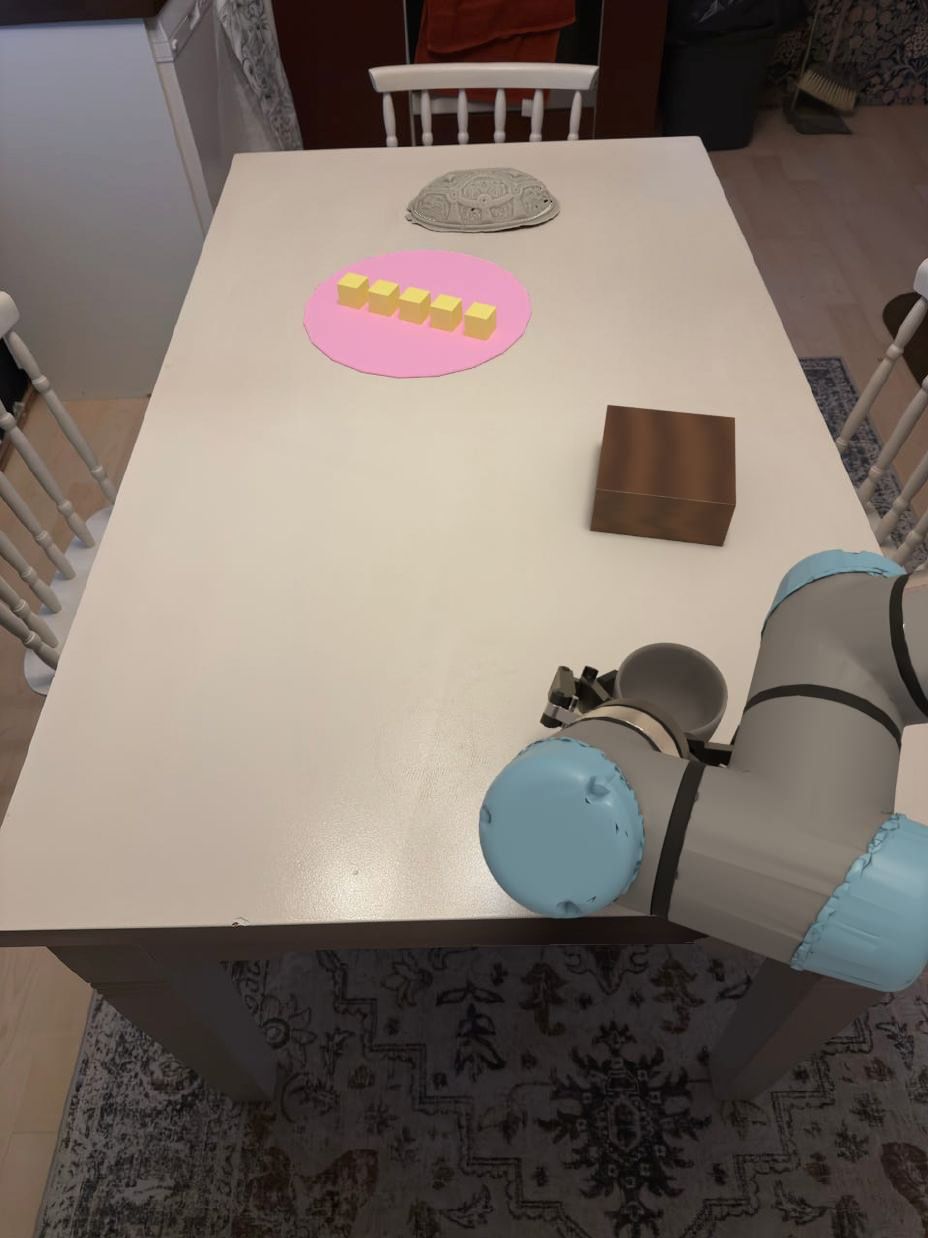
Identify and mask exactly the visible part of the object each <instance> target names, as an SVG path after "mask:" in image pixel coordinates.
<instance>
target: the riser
mask: <svg viewBox="0 0 928 1238" xmlns="http://www.w3.org/2000/svg"><path fill="white" fill-rule="evenodd" d="M736 457H737V455H736V417H733V416H724V415H714V414H704V413H703V414H702V413H693V412H685V411H675V410H674V411H672V410H664V409H653V408H645V407H644V408H643V407H634V406H623V405H615V404H607V405H606V412H605V419H604V427H603V434H602V442H601V448H600V456H599V463H598V470H597V477H596V484H595V491H594V499H593V505H592V506H593V507H592V512H591V513H592V514H591V519H590V521H591V522H590V528H589V529H590V531H593V532H594V531H595V532H602V533H611V534H619V535H629V536H635V537H636V536H637V537H644V538H651V539H652V538H653V539H662V540H668V541H669V540H671V541H678V542H686V543H694V544H701V545H702V544H703V545H710V546H718V547H723V546H724V545H725V541H726V538H727V535H728V531H729V528H730V525H731V523H732V519H733V516H734V513H735V510H736V507H737V475H736V474H737V472H736V469H737V464H736V463H737V461H736Z"/></svg>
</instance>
